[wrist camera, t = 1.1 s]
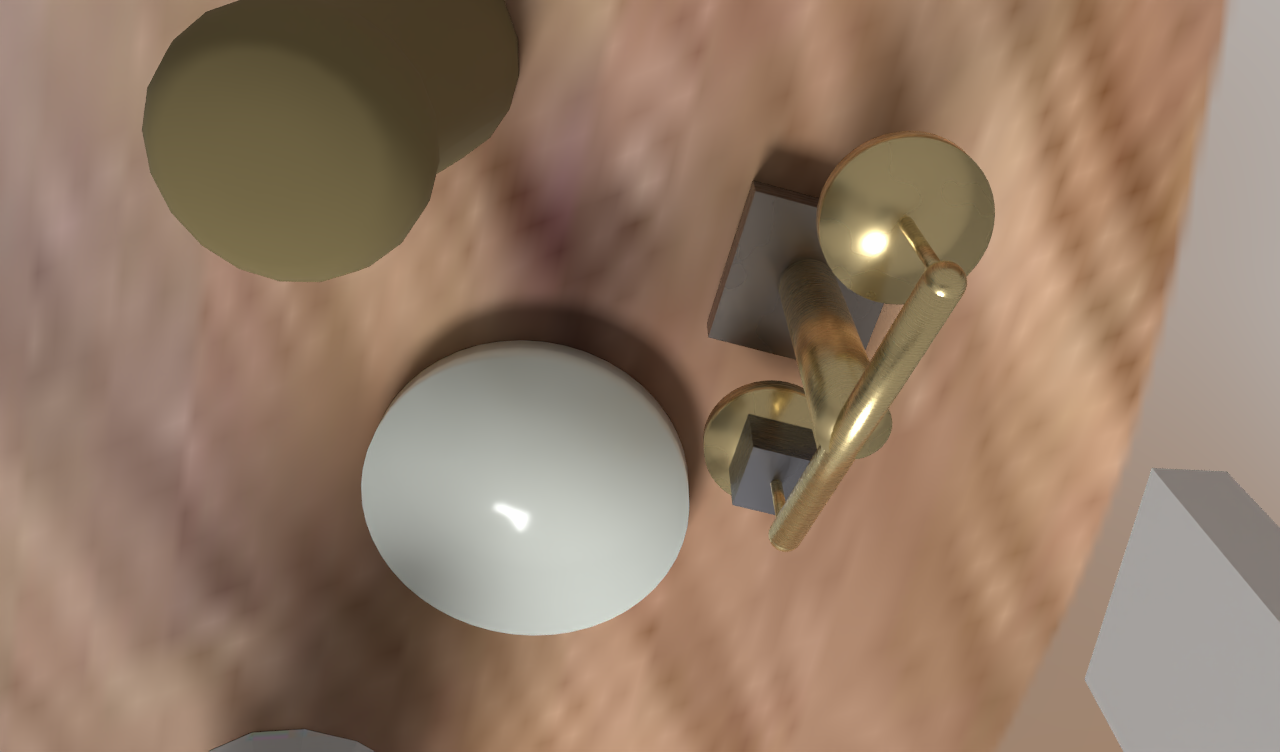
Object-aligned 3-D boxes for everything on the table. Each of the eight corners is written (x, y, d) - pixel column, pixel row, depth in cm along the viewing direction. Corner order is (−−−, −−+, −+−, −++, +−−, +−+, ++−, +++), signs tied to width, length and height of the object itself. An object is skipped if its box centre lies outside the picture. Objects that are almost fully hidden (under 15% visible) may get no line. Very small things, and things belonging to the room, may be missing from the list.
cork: (258, -49, 27) (27, 10, 17) (493, -88, 27) (393, -49, 17) (324, 183, 30) (156, 349, 20) (539, 151, 29) (476, 307, 19)
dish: (349, 574, 36) (340, 596, 34) (398, 304, 31) (389, 320, 30) (642, 639, 37) (641, 663, 35) (728, 386, 32) (730, 405, 31)
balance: (673, 427, 33) (677, 677, 23) (795, 50, 28) (867, 161, 18) (810, 460, 33) (872, 719, 23) (954, 94, 28) (1110, 227, 18)
